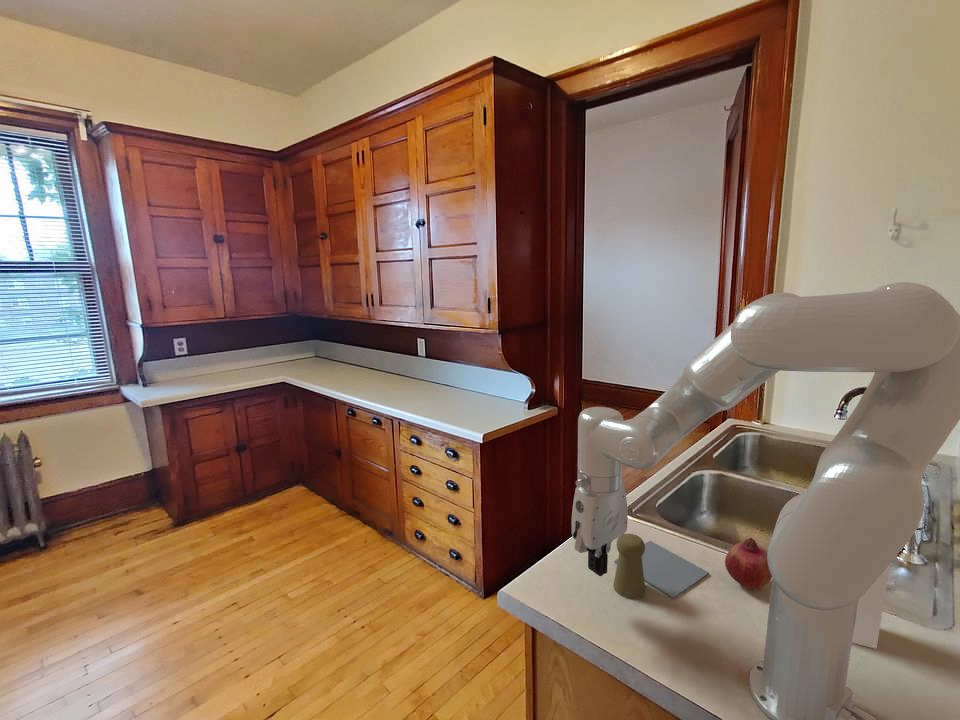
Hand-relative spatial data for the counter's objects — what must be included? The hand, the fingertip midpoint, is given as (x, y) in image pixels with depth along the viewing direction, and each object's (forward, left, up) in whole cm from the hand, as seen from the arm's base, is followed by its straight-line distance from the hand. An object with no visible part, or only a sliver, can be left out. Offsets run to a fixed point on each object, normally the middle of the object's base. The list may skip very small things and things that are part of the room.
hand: (597, 570), depth 86 cm
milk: (-29, -30, -8) cm, 43 cm away
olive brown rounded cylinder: (0, -9, -8) cm, 12 cm away
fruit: (-13, -28, -8) cm, 32 cm away
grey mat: (0, -19, -8) cm, 21 cm away
